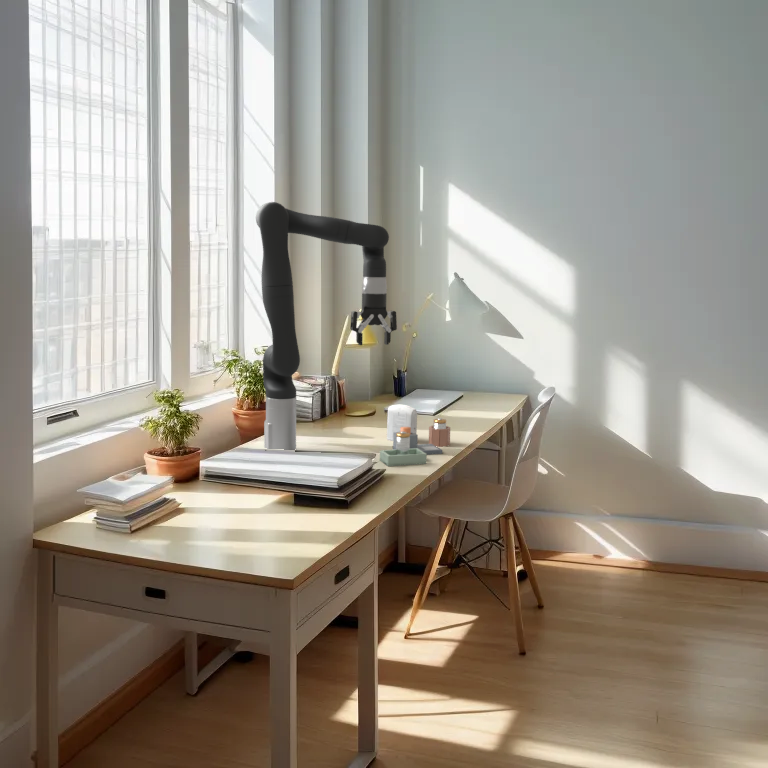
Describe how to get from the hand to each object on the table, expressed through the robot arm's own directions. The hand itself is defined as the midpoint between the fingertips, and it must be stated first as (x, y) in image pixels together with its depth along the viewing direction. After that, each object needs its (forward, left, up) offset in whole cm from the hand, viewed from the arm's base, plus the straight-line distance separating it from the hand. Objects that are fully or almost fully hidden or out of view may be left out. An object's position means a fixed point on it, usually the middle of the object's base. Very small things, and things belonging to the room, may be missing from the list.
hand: (373, 344), depth 273 cm
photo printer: (+13, +8, -33) cm, 37 cm away
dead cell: (+23, 0, -33) cm, 40 cm away
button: (+9, -6, -30) cm, 32 cm away
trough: (+4, -18, -33) cm, 38 cm away
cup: (+23, 0, -33) cm, 40 cm away
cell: (+4, -18, -32) cm, 37 cm away
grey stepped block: (+13, -8, -33) cm, 36 cm away
